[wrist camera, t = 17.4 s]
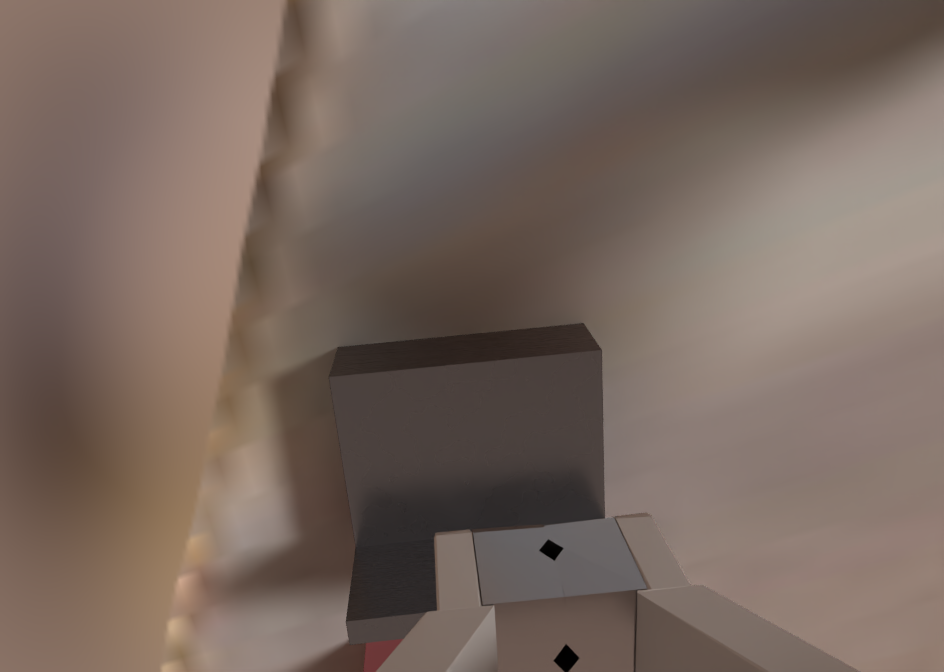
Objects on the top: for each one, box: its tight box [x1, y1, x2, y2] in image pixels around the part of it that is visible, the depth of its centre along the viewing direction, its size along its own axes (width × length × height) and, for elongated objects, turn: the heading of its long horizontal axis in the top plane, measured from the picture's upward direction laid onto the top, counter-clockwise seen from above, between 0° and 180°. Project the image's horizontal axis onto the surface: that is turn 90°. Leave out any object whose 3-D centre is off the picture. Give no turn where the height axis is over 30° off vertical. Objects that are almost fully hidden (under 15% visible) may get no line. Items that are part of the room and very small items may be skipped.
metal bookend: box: [329, 323, 605, 645], centre depth 32 cm, size 10×12×9 cm
